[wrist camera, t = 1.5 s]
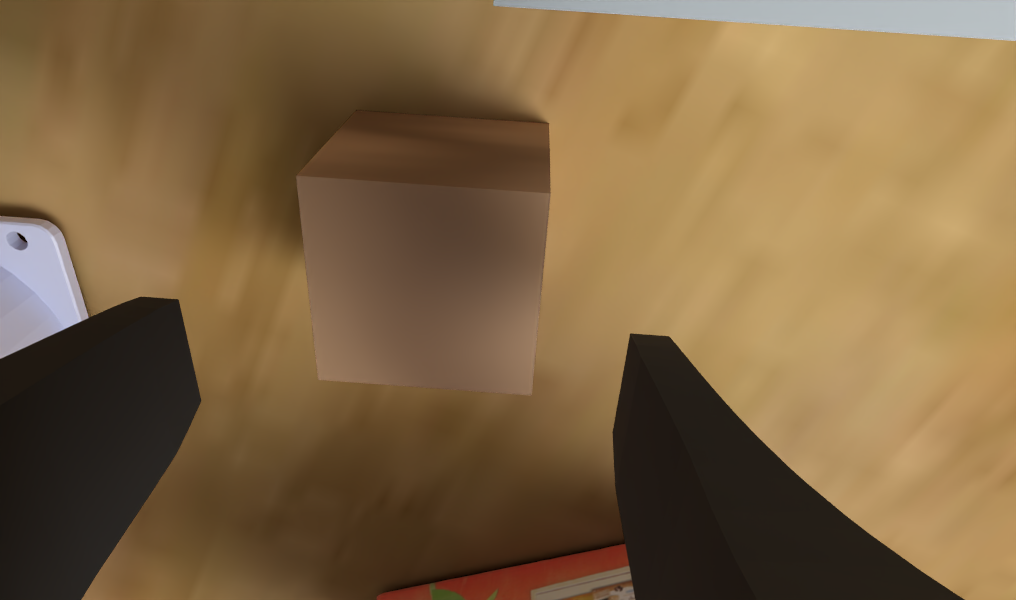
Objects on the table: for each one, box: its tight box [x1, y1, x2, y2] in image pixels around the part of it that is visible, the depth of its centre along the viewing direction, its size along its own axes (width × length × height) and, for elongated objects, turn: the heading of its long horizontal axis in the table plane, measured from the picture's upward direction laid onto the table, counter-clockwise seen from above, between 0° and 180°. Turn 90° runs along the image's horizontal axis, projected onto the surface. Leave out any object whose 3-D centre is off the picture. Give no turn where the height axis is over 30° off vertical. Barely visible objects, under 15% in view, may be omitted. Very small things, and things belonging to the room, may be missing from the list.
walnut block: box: [296, 110, 550, 395], centre depth 15 cm, size 4×4×4 cm
